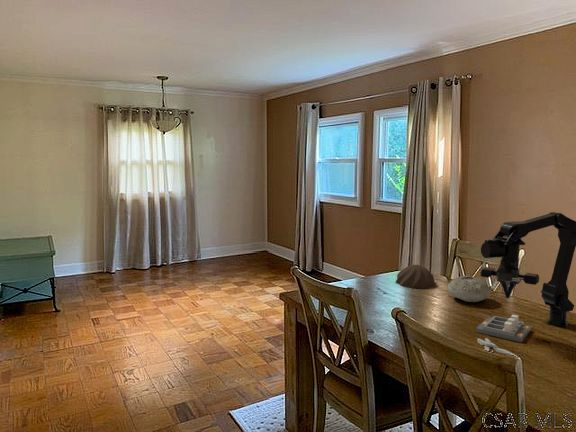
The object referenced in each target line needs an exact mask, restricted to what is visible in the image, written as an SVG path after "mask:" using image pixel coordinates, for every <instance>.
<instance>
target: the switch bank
mask: <svg viewBox="0 0 576 432" xmlns="http://www.w3.org/2000/svg"><path fill="white" fill-rule="evenodd" d="M508 319H509V317H508V318H507V317H501V316H497V315H493V316H492V317H487V318H485V319H484V320H483V321H482V322H481V323H479V325H478V326H476V328H475V329H476V330H475V332H476V333H478V334H479V333H480V334H484V335H487V336H493V337H496V338H501V339H505V340H509V341H514V342H518V343H523V342H524V340H525V338H526V337H527V336H528V334H529V333H530V331H531V328H532V326H530V325H526V324H524V323H525V322H524V321H522V320H518V322H520V324H519V325H518V324H515V326H517V327H516V328H512V329H514V331H513V332H509V331H505V330H503V329H504V323H505V322H506V321H507V322H508Z"/></svg>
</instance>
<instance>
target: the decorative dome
mask: <svg viewBox="0 0 576 432" xmlns="http://www.w3.org/2000/svg"><path fill="white" fill-rule="evenodd" d="M395 284H397V285H399V286H400V287H405V286H406V288H411V289H427V288H433V287H434V285H435V284H436V283H435V278H434V275H433V273H432V272H431V271H430V270H429V269H427V268H426V267H424V266H422V265H420V264H411V265H408V266H406V267H404V268H403V269H401V270H400V271H399V272H398V273H397V275H396V280H395Z"/></svg>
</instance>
